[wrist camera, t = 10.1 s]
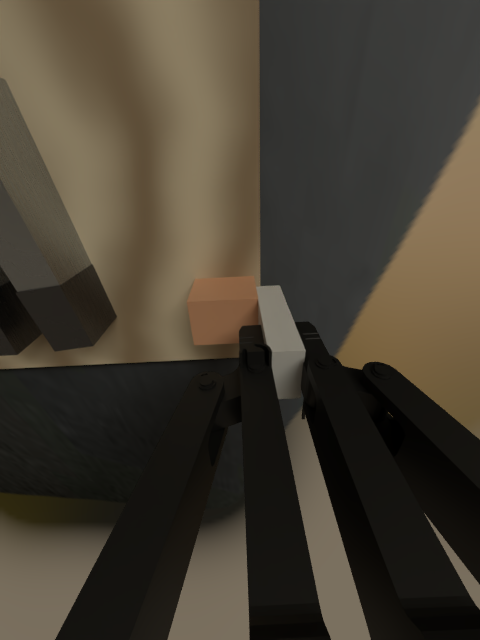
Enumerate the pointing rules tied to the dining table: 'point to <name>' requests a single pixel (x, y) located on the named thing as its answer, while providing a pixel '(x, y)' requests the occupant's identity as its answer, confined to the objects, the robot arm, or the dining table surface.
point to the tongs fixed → (14, 320)
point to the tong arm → (44, 243)
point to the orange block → (222, 308)
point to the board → (144, 155)
